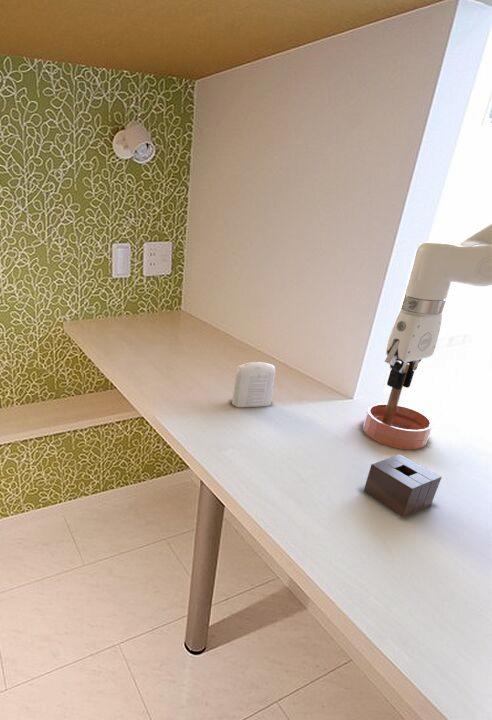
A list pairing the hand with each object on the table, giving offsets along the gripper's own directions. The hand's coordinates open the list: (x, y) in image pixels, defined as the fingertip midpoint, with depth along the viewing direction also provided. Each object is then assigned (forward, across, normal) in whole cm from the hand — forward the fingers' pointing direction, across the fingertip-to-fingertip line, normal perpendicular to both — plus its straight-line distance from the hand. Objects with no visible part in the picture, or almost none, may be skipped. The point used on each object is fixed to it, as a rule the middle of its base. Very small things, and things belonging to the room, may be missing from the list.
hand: (398, 385), depth 97 cm
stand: (+13, -20, -18) cm, 29 cm away
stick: (+11, 0, 0) cm, 11 cm away
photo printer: (+13, -20, +25) cm, 34 cm away
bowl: (+13, +1, -2) cm, 13 cm away
